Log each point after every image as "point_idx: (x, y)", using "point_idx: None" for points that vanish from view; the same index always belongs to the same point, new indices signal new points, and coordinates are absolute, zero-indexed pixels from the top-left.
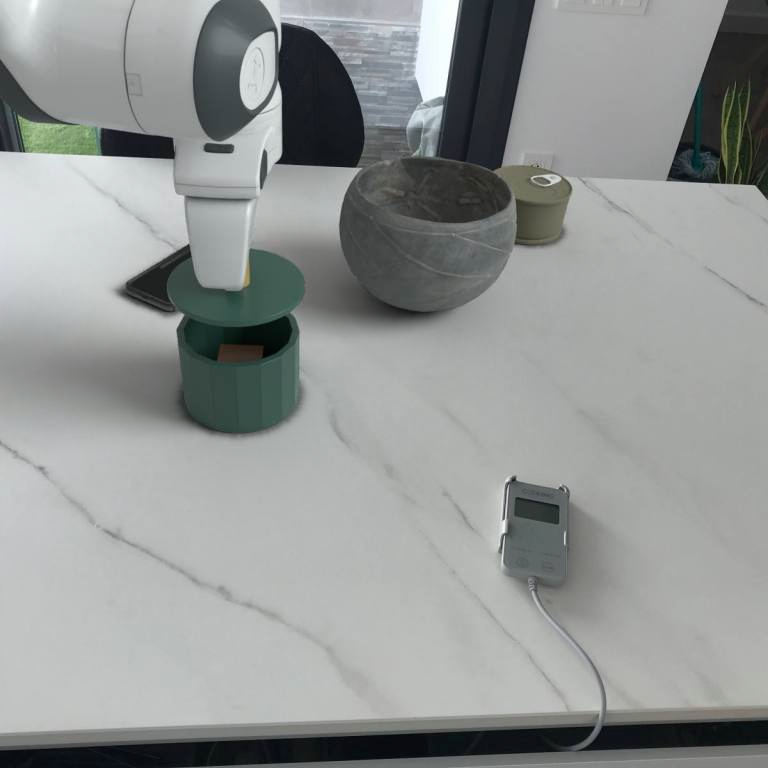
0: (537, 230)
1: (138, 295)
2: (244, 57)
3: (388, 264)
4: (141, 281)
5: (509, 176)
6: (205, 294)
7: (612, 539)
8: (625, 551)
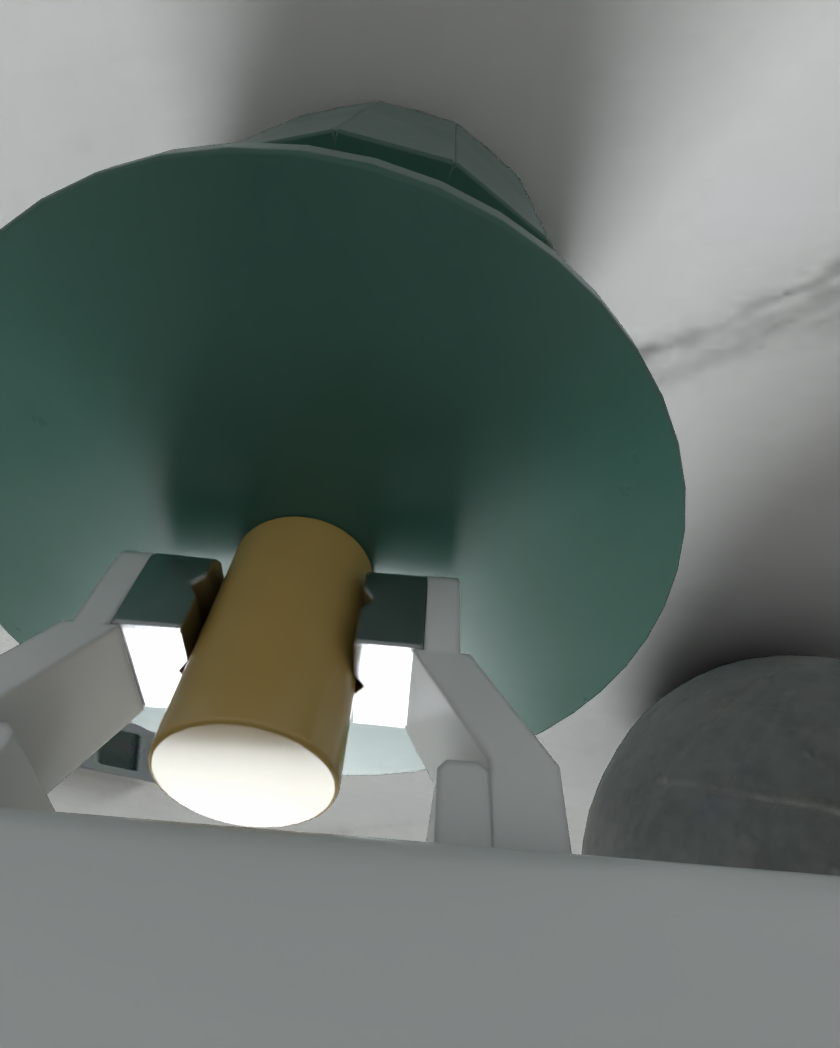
0: None
1: None
2: None
3: (648, 828)
4: None
5: None
6: (146, 424)
7: (89, 800)
8: (73, 805)
